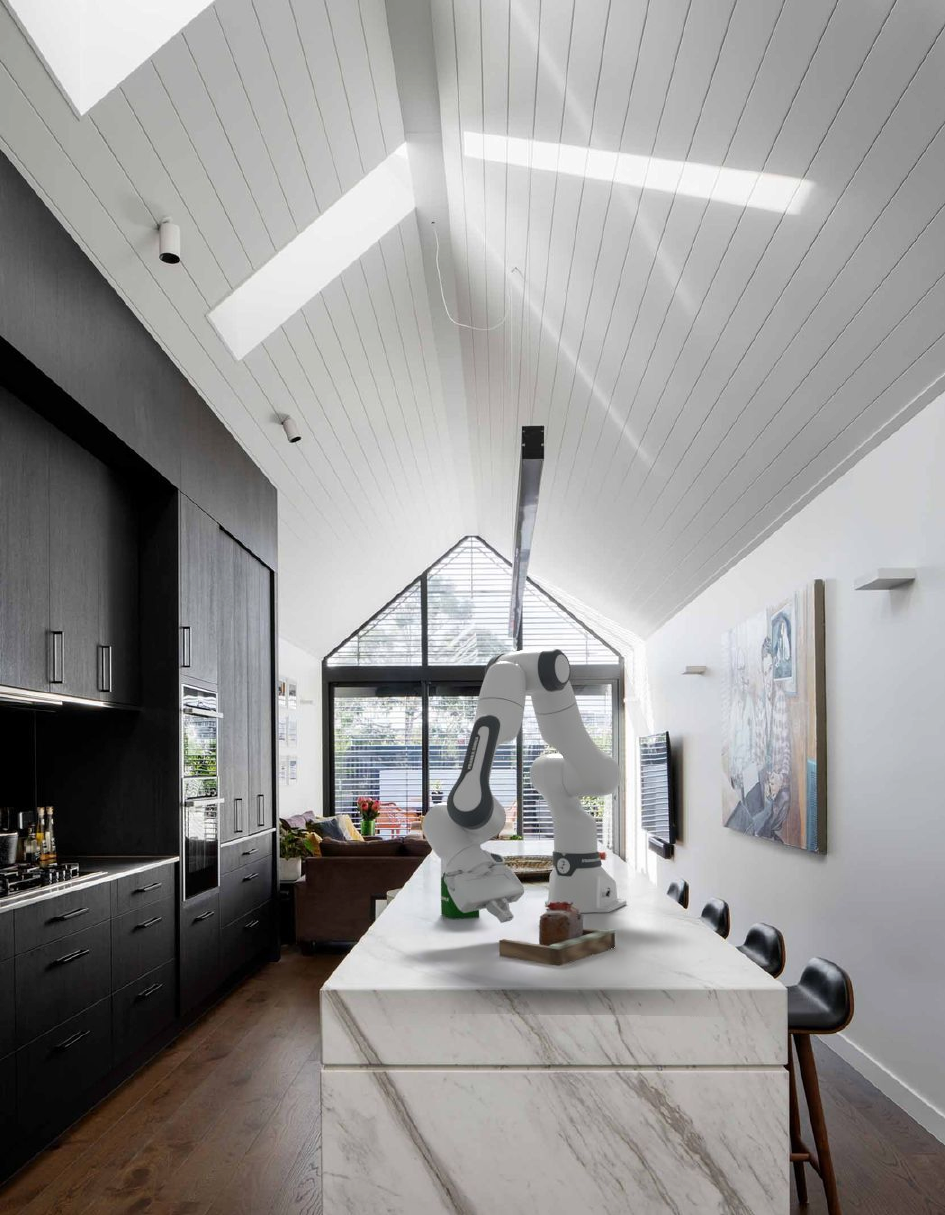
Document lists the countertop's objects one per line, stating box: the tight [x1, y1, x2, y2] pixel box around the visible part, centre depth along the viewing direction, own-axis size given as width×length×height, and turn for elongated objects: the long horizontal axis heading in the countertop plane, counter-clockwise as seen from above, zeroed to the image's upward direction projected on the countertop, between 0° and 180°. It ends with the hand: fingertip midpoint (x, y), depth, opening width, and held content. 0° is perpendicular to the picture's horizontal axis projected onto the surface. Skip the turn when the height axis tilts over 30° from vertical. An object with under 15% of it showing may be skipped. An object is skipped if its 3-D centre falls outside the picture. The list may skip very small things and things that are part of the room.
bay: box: [498, 927, 616, 967], centre depth 199 cm, size 21×14×4 cm, turn 141°
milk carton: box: [440, 845, 481, 920], centre depth 241 cm, size 9×9×20 cm
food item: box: [538, 902, 584, 946], centre depth 201 cm, size 14×8×10 cm, turn 167°
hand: (507, 920), depth 207 cm, fingers closed
